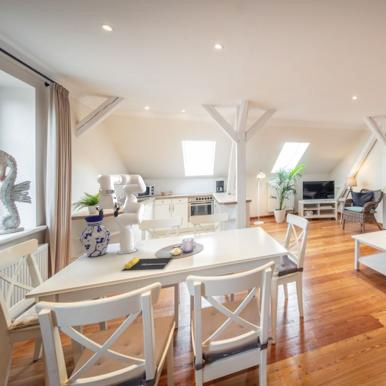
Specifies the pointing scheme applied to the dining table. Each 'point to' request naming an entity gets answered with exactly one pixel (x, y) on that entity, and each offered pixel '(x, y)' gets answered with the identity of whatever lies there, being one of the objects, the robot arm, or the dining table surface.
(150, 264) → the fork
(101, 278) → the dining table surface
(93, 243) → the vase
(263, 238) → the dining table surface
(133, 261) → the banana
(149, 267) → the place mat
